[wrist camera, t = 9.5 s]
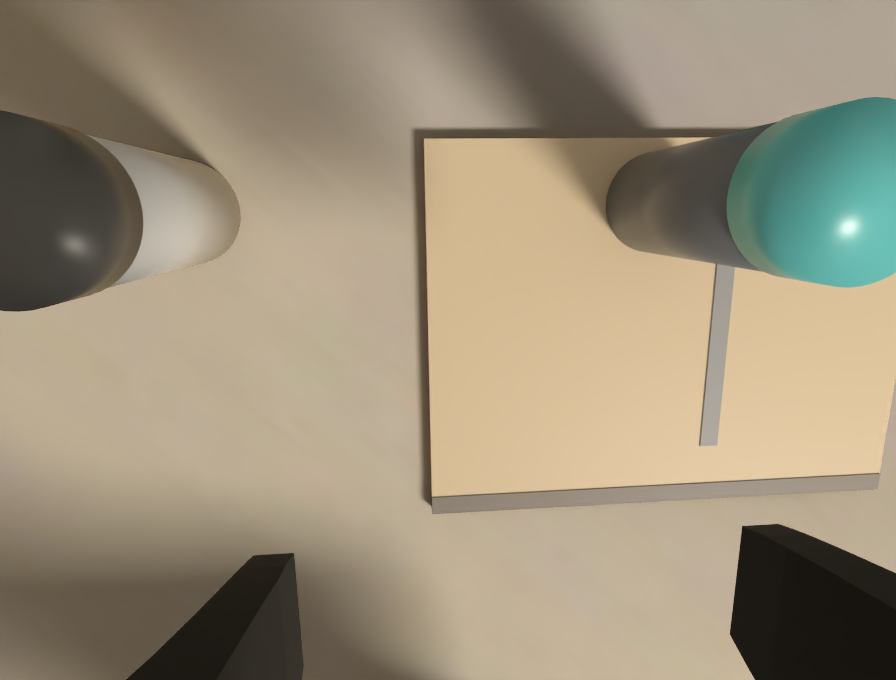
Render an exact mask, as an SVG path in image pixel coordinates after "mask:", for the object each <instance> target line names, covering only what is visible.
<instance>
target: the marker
mask: <svg viewBox="0 0 896 680" xmlns="http://www.w3.org/2000/svg"><path fill="white" fill-rule="evenodd" d="M606 214H607V219H608V223H609V225H610V227H611V229H612V231H613V233H614V234H615V236H616V237H617V238H618V239H619V240H620V241H621V242H622V243H623V244H625V245H626V246H628V247H630V248H632V249H634V250H637V251H641V252H647V253H653V254H659V255H665V256H671V257H677V258H683V259H689V260H695V261H701V262H707V263H713V264H719V265H725V266H731V267H737V268H743V269H749V270H755V271H761V272H765V273H767V274H770V275H773V276H777V277H782V278H788V279H793V280H799V281H805V282H811V283H817V284H822V285H828V286H834V287H845V288H851V287H860V286H865V285H869V284H872V283H875V282H878V281H881V280H883V279H885V278H887V277H889V276H891V275H893V274H894V273H896V100H894V99H890V98H881V97H873V98H863V99H858V100H854V101H850V102H846V103H842V104H838V105H833V106H829V107H825V108H821V109H817V110H813V111H809V112H805V113H801V114H797V115H793V116H790V117H788V118H785V119H783V120H781V121H779V122H775V123H771V124H767V125H762V126H758V127H754V128H750V129H746V130H741V131H737V132H733V133H729V134H725V135H720V136H716V137H712V138H708V139H704V140H699V141H695V142H691V143H687V144H682V145H678V146H674V147H670V148H666V149H661V150H657V151H653V152H649V153H645V154H642V155H639V156H637V157H635V158H633V159H631V160H630V161H629V162H627V163H626V164H625V165H624V166H623V167H622V168H621V169H620V170H619V171H618V172H617V174H616V175H615V177H614V178H613V180H612V182H611V184H610V187H609V189H608V193H607V198H606Z"/></svg>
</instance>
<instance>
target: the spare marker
mask: <svg viewBox="0 0 896 680" xmlns="http://www.w3.org/2000/svg"><path fill="white" fill-rule="evenodd" d="M239 227H240V207H239V203H238V200H237V197H236V195H235V192H234V191H233V189H232V187H231V186H230V184H229V183H228V182H227V180H226V179H225V178H224V177H223V176H222V175H221V174H219V173H218V172H217V171H216V170H214V169H212V168H211V167H209V166H207V165H205V164H202V163H199V162H196V161H192V160H188V159H184V158H180V157H176V156H172V155H168V154H164V153H160V152H156V151H151V150H147V149H143V148H139V147H135V146H131V145H127V144H123V143H119V142H115V141H111V140H107V139H102V138H98V137H94V136H90V135H86V134H83V133H81V132H79V131H77V130H74V129H71V128H68V127H65V126H62V125H58V124H54V123H50V122H46V121H42V120H38V119H34V118H30V117H26V116H22V115H18V114H14V113H10V112H6V111H1V110H0V310H2V311H29V310H35V309H40V308H44V307H48V306H51V305H55V304H59V303H63V302H66V301H70V300H74V299H78V298H81V297H85V296H89V295H92V294H94V293H97V292H100V291H102V290H104V289H106V288H109V287H112V286H116V285H120V284H124V283H128V282H132V281H135V280H139V279H143V278H147V277H151V276H155V275H159V274H162V273H166V272H170V271H174V270H178V269H182V268H186V267H189V266H193V265H197V264H201V263H205V262H208V261H211V260H214V259H215V258H217V257H219V256H221V255H222V254H223V253H225V252H226V251H227V250H228V249H229V247H230V246H231V245H232V244H233V242H234V240H235V238H236V236H237V234H238V231H239Z"/></svg>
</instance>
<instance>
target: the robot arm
mask: <svg viewBox="0 0 896 680" xmlns="http://www.w3.org/2000/svg"><path fill="white" fill-rule="evenodd" d="M730 635H731V637H732V639H733V641H734V643H735V644H736V646H737V648H738V650H739V652H740V654H741V655H742V657H743V659H744V661H745V663H746V665H747V666H748V668H749V670H750V672H751V673H752V675H753V677H754V679H755V680H896V573H894V572H892V571H889V570H887V569H885V568H883V567H880V566H878V565H876V564H874V563H872V562H869V561H867V560H865V559H863V558H860V557H858V556H856V555H854V554H851V553H849V552H847V551H845V550H842V549H840V548H838V547H835V546H833V545H831V544H828V543H826V542H824V541H821V540H819V539H817V538H814V537H812V536H809V535H807V534H804V533H802V532H799V531H797V530H794V529H791V528H788V527H785V526H782V525H779V524H772V525H755V526H742V534H741V543H740V552H739V560H738V569H737V577H736V586H735V595H734V603H733V612H732V621H731V629H730ZM302 673H303V655H302V644H301V632H300V620H299V608H298V596H297V585H296V573H295V561H294V553H288V554H272V555H255V556H253V557H252V558H250V559H249V560H248V561H247V562H246V563H245V564H244V565H243V566H242V567H241V568H240V569H239V570H238V571H237V572H236V573H235V574H234V575H233V576H232V577H231V578H230V579H229V580H228V581H227V582H226V583H225V584H224V585H223V586H222V588H221V589H220V590H219V591H218V592H217V593H216V594H215V595H214V596H213V597H212V598H211V599H210V600H209V601H208V602H207V603H206V604H205V605H204V606H203V607H202V608H201V609H200V610H199V611H198V612H197V613H196V614H195V615H194V616H193V617H192V618H191V619H190V620H189V621H188V622H187V623H186V624H185V625H184V626H183V627H182V628H181V629H180V630H179V631H178V632H177V633H176V634H175V635H174V636H173V637H172V638H171V639H170V640H168V641H167V642H166V643H165V644H164V645H163V646H162V647H161V648H160V649H159V650H158V651H157V652H156V653H155V654H154V655H153V656H152V657H151V658H150V659H149V660H148V661H146V662H145V663H144V664H143V665H142V666H141V667H140V668H139V669H138V670H136V671H135V672H134V673H133V674H132V675H131V676H130V677H129V678H128V679H126V680H302Z"/></svg>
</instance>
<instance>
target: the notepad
mask: <svg viewBox="0 0 896 680" xmlns="http://www.w3.org/2000/svg"><path fill="white" fill-rule="evenodd" d="M708 138H712V137H702V138H459V139H424V183H425V227H426V272H427V317H428V362H429V407H430V451H431V496H432V514H443V513H461V512H479V511H497V510H515V509H533V508H551V507H569V506H587V505H605V504H623V503H641V502H658V501H676V500H694V499H712V498H730V497H748V496H766V495H784V494H802V493H820V492H838V491H856V490H874V489H878V483H879V478H880V474H879V472H880V466H881V460H882V454H883V449H884V443H885V437H886V431H887V425H888V420H889V414H890V408H891V402H892V396H893V391H894V385H895V379H896V273H894V274H893V275H891V276H889V277H887V278H885V279H883V280H881V281H878V282H875V283H872V284H869V285H865V286H860V287H851V288H845V287H834V286H828V285H822V284H817V283H811V282H805V281H799V280H793V279H788V278H782V277H777V276H773V275H770V274H767V273H765V272H761V271H755V270H749V269H743V268H737V267H731V266H725V265H719V264H713V263H707V262H701V261H695V260H689V259H683V258H677V257H671V256H665V255H659V254H653V253H647V252H641V251H637V250H634V249H632V248H630V247H628V246H626V245H625V244H623V243H622V242H621V241H620V240H619V239H618V238H617V237H616V236H615V234H614V233H613V231H612V229H611V227H610V225H609V223H608V219H607V214H606V198H607V193H608V189H609V187H610V184H611V182H612V180H613V178H614V177H615V175H616V174H617V172H618V171H619V170H620V169H621V168H622V167H623V166H624V165H625V164H626V163H627V162H629V161H630V160H631V159H633V158H635V157H637V156H639V155H642V154H645V153H649V152H653V151H657V150H661V149H666V148H670V147H674V146H678V145H682V144H687V143H691V142H695V141H699V140H704V139H708Z"/></svg>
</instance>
